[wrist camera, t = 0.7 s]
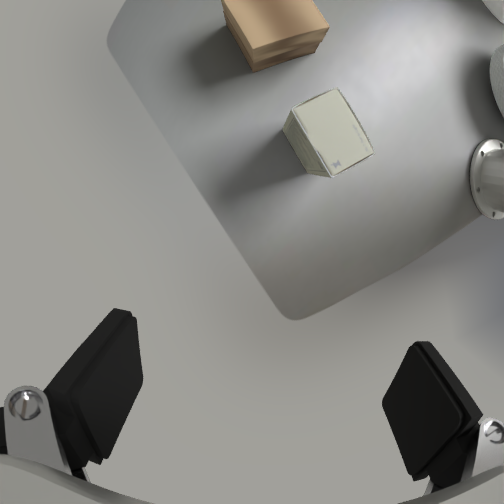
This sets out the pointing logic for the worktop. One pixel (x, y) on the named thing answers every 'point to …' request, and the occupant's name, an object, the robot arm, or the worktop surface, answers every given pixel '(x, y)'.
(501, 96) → the cereal bowl
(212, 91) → the worktop surface
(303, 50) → the walnut base block
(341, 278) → the worktop surface
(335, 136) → the skincare box
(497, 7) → the canister
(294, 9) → the oak top block
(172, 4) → the worktop surface
